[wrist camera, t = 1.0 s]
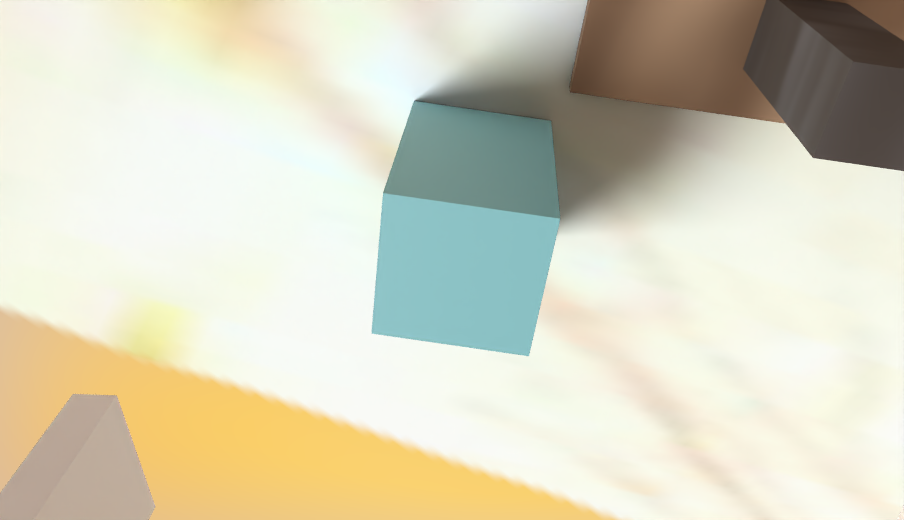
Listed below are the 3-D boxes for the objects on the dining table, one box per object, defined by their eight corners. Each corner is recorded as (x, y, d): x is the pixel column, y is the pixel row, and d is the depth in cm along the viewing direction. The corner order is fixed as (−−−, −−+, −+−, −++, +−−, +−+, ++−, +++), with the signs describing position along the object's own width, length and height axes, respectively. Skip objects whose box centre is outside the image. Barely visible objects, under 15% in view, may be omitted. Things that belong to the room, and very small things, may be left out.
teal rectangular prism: (402, 220, 31) (371, 333, 25) (414, 100, 28) (383, 193, 22) (526, 238, 31) (528, 356, 25) (551, 120, 28) (560, 218, 22)
